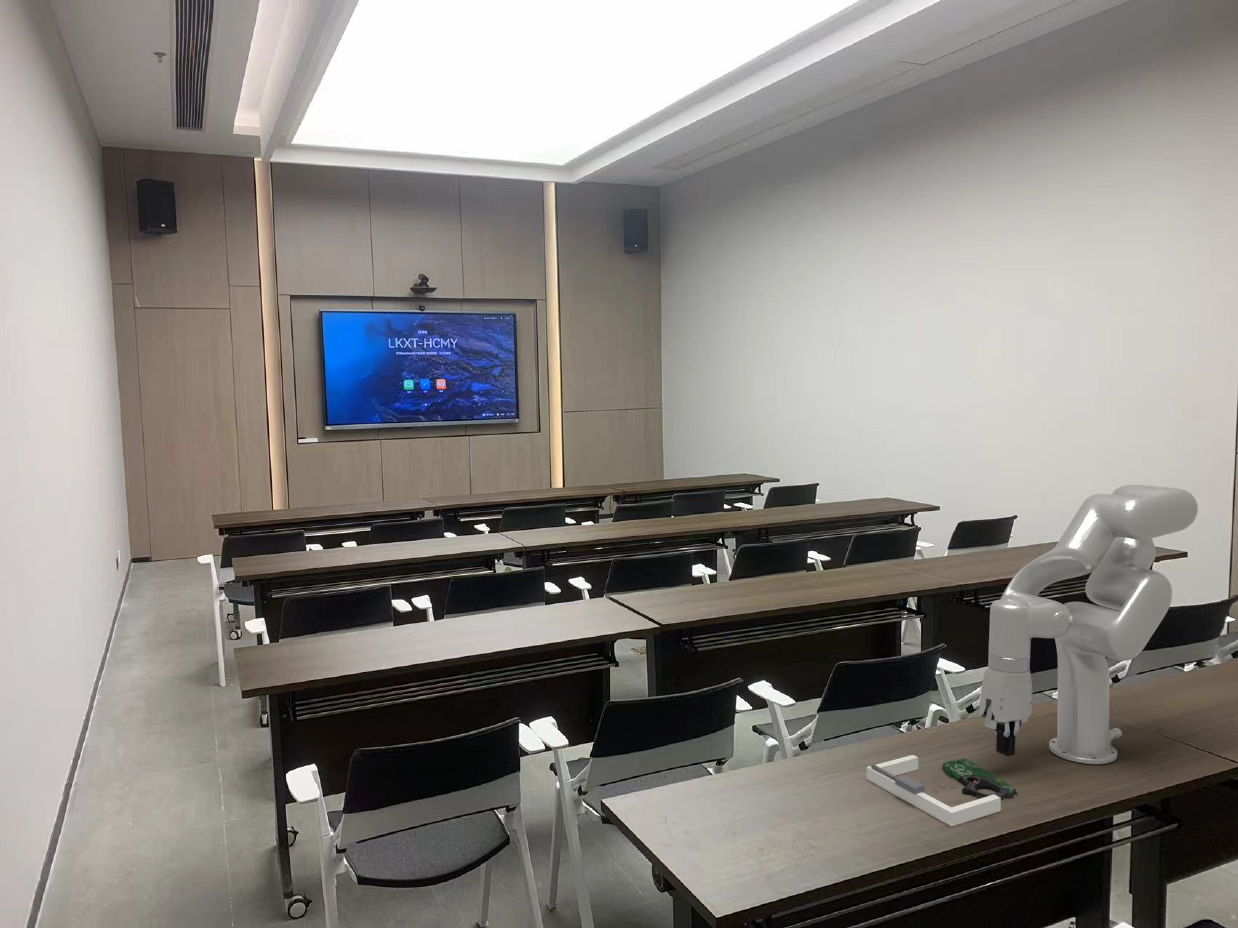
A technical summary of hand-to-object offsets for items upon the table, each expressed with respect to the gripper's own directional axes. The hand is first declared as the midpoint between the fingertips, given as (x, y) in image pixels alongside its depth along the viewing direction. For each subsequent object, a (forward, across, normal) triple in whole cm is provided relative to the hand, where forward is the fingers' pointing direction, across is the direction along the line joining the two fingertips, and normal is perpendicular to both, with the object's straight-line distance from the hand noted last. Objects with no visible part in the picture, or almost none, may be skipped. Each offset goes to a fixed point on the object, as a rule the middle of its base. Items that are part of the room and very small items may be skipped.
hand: (1005, 753), depth 177 cm
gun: (+5, +9, 0) cm, 10 cm away
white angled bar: (+5, +20, 0) cm, 20 cm away
